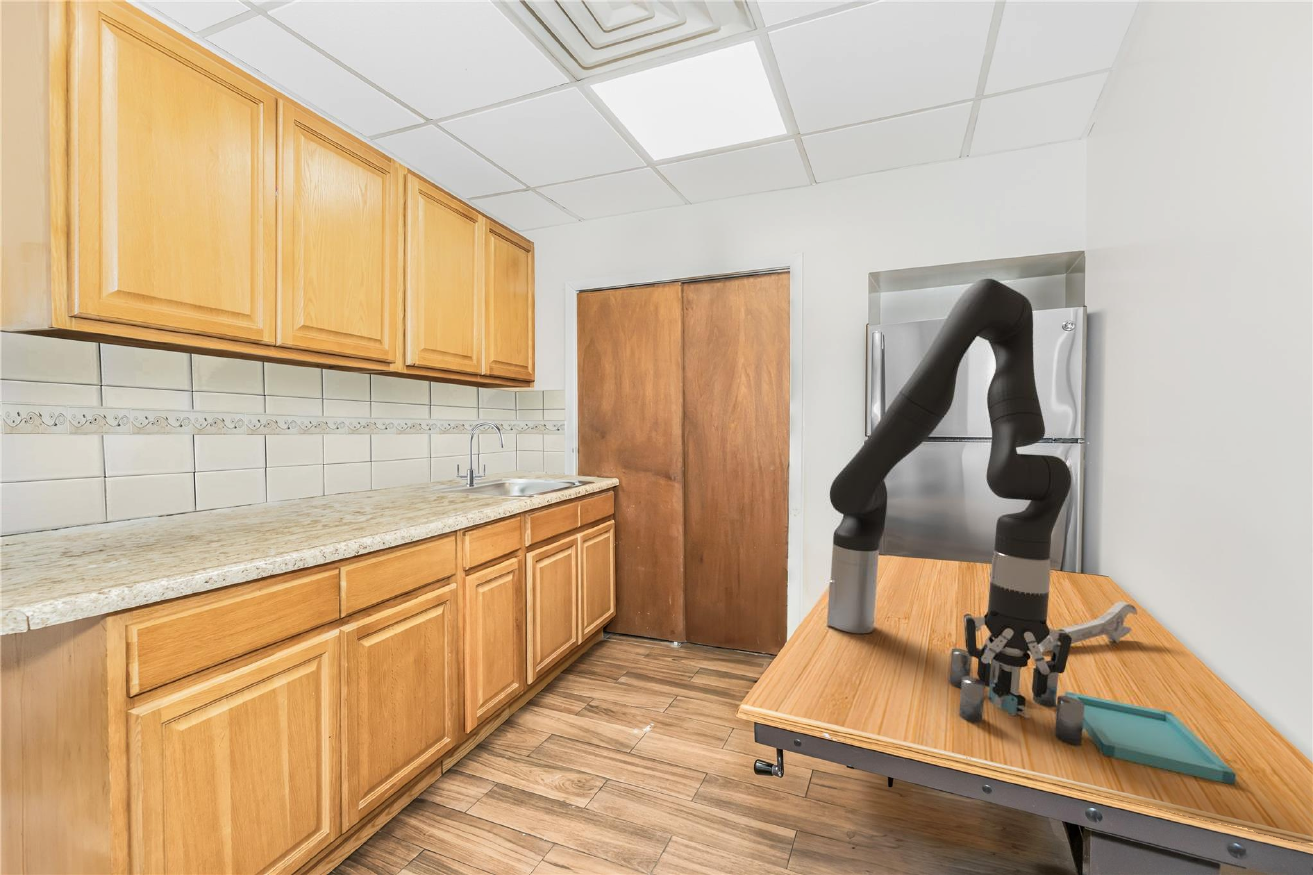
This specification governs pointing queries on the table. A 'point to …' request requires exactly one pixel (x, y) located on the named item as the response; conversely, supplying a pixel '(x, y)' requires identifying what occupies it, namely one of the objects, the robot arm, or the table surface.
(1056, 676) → the standoff cluster
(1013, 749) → the table surface
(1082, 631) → the wrench
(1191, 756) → the tray
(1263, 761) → the table surface
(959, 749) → the table surface
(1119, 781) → the table surface
